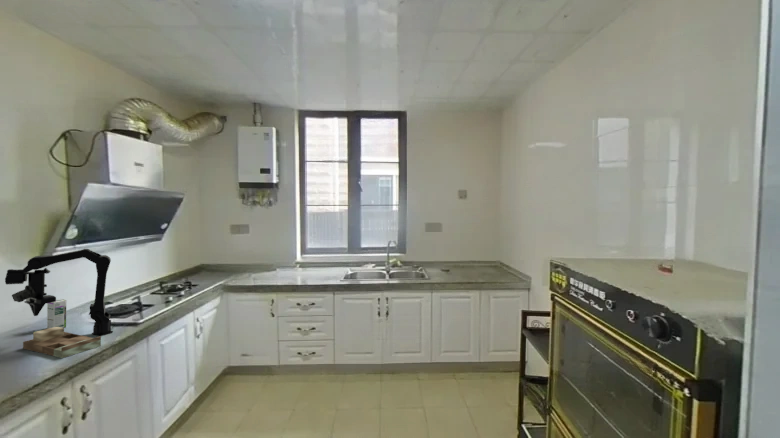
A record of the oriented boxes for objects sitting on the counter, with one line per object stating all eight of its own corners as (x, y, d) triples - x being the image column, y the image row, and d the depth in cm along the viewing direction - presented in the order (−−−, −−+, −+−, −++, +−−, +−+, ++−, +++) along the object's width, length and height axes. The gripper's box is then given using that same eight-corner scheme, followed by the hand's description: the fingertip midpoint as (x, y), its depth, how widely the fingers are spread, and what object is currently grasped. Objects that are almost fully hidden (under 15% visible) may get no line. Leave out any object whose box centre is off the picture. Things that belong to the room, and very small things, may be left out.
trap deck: (62, 337, 189) (63, 328, 189) (100, 345, 181) (100, 336, 180) (23, 348, 174) (23, 338, 173) (62, 358, 165) (62, 347, 165)
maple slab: (56, 333, 185) (56, 326, 185) (63, 335, 184) (64, 328, 184) (33, 339, 176) (33, 332, 176) (40, 341, 175) (40, 333, 175)
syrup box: (53, 330, 198) (54, 302, 198) (46, 328, 200) (47, 300, 200) (66, 327, 204) (66, 299, 203) (59, 325, 206) (60, 298, 205)
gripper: (2, 283, 178) (1, 317, 178) (28, 288, 172) (28, 323, 172) (31, 279, 188) (30, 311, 189) (57, 284, 182) (56, 316, 183)
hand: (35, 315), depth 183 cm, fingers closed
